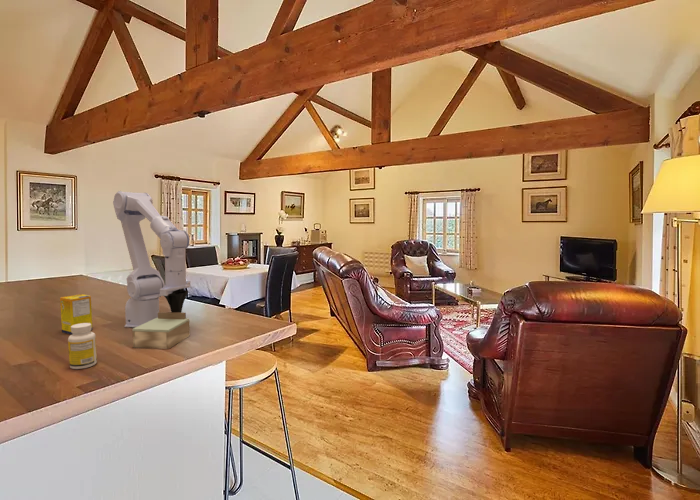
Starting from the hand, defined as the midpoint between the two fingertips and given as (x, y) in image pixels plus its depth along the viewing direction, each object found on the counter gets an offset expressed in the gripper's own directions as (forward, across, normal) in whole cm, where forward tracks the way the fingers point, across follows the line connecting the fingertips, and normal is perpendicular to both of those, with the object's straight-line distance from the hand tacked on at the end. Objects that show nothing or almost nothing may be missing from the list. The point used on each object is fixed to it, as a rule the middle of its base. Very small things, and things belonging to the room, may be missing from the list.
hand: (176, 314), depth 119 cm
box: (+6, -8, 0) cm, 10 cm away
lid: (+1, -8, 0) cm, 8 cm away
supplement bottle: (+6, -27, +9) cm, 29 cm away
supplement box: (+6, -2, +31) cm, 32 cm away
